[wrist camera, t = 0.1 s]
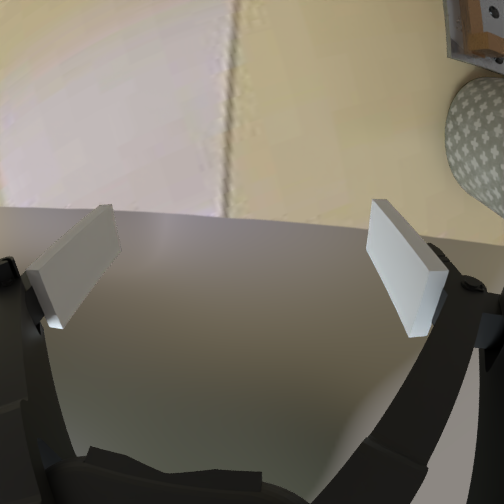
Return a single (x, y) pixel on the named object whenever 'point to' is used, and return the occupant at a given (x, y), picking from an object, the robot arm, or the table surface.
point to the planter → (478, 140)
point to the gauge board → (458, 34)
